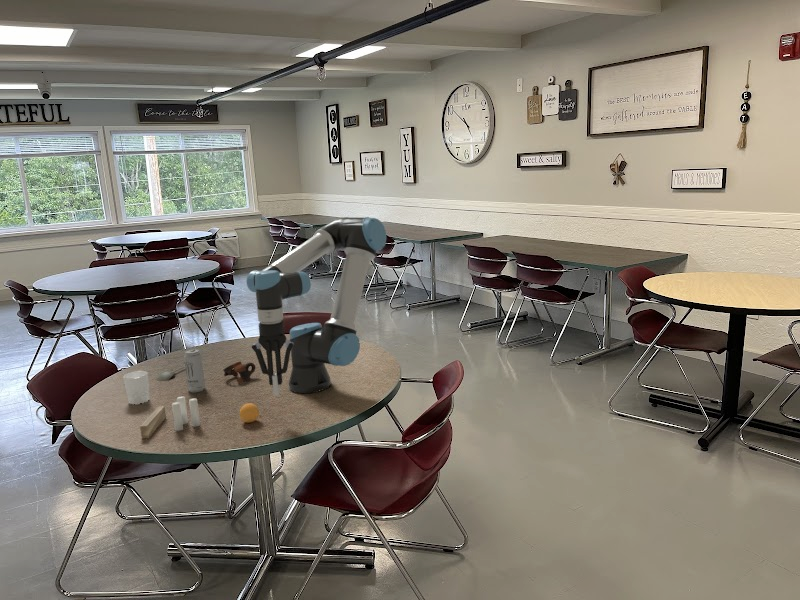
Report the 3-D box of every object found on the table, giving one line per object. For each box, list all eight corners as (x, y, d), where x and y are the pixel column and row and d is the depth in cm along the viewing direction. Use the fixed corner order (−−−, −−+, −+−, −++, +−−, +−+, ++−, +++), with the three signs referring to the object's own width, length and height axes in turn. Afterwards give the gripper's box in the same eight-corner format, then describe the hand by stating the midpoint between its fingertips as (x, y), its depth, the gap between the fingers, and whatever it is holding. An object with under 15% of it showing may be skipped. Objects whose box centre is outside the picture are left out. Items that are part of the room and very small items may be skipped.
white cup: (136, 406, 209) (132, 379, 207) (122, 403, 213) (118, 376, 211) (155, 399, 216) (152, 372, 213) (142, 395, 220) (138, 369, 218)
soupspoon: (152, 383, 237) (165, 385, 234) (151, 375, 236) (164, 377, 233) (191, 364, 256) (203, 366, 254) (190, 356, 255) (202, 358, 253)
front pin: (200, 423, 192) (197, 398, 190) (198, 426, 190) (195, 400, 188) (193, 423, 192) (190, 398, 190) (191, 426, 190) (187, 401, 188)
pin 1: (188, 421, 194) (185, 396, 193) (186, 424, 192) (183, 398, 190) (181, 421, 194) (178, 396, 193) (179, 424, 192) (175, 399, 190)
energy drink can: (184, 392, 221) (179, 353, 218) (195, 386, 227) (190, 348, 224) (198, 393, 219) (193, 354, 216) (208, 388, 224) (204, 349, 221)
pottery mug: (232, 388, 225) (222, 368, 226) (229, 391, 234) (220, 372, 234) (261, 373, 230) (251, 354, 231) (257, 377, 239) (248, 359, 240)
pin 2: (184, 427, 189) (181, 401, 188) (181, 430, 187) (178, 404, 185) (176, 427, 189) (173, 402, 188) (174, 431, 187) (170, 405, 185)
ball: (261, 417, 195) (259, 399, 193) (257, 425, 189) (256, 407, 187) (242, 418, 194) (240, 401, 193) (238, 426, 188) (236, 408, 187)
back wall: (166, 417, 198) (164, 405, 197) (148, 438, 183) (146, 425, 182) (159, 417, 198) (158, 406, 197) (141, 438, 183) (140, 426, 182)
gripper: (247, 325, 181) (253, 399, 186) (290, 323, 182) (296, 397, 186) (251, 319, 189) (258, 391, 193) (293, 317, 189) (299, 389, 194)
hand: (276, 394), depth 190 cm, fingers closed
